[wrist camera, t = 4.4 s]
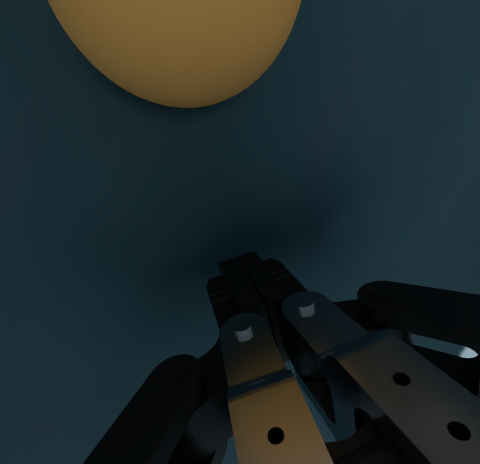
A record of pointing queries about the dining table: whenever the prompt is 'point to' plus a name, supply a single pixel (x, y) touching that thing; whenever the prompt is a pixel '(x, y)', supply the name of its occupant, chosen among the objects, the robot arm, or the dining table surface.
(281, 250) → the dining table surface
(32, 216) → the dining table surface
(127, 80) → the ball
